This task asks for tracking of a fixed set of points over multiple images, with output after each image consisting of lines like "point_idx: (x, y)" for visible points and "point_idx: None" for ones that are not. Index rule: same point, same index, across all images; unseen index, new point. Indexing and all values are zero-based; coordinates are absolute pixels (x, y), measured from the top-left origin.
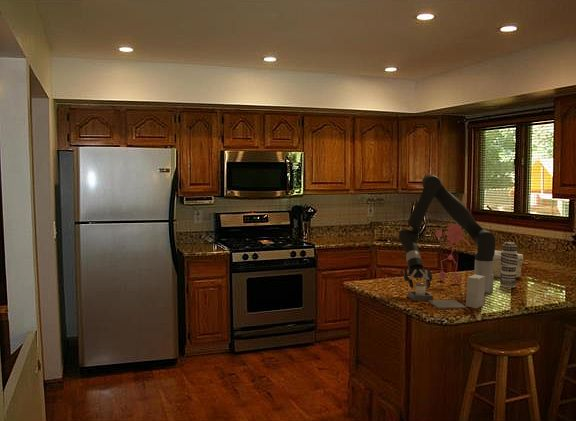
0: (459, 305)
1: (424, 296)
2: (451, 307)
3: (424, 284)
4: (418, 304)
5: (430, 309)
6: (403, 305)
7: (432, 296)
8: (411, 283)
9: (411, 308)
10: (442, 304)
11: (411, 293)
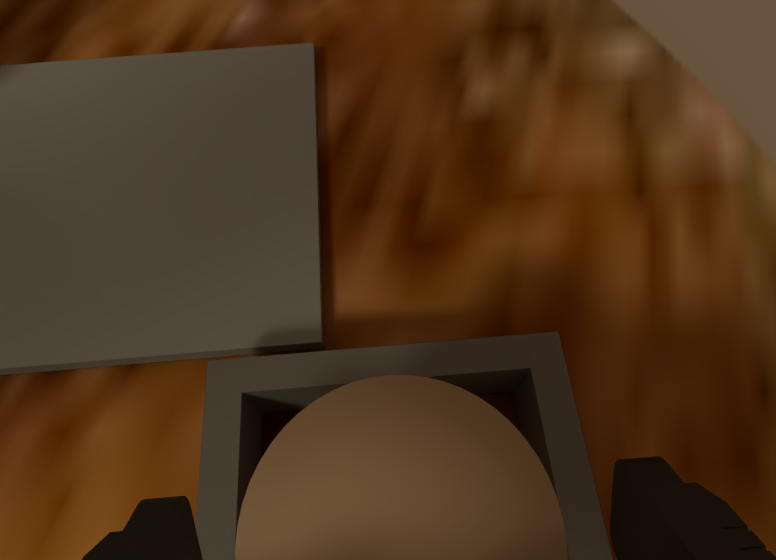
0: (26, 115)
1: (366, 352)
2: (163, 56)
3: (314, 404)
4: (496, 188)
5: (403, 28)
6: (687, 139)
7: (223, 362)
8: (703, 519)
9: (597, 46)
10: (209, 142)
11: (587, 538)
